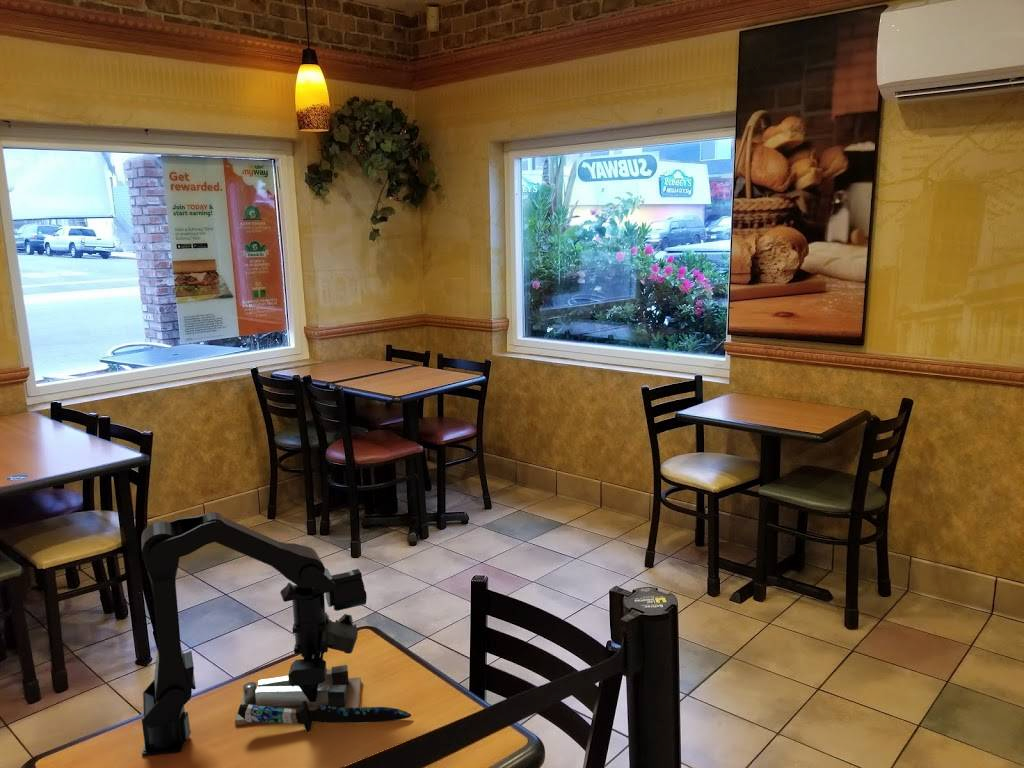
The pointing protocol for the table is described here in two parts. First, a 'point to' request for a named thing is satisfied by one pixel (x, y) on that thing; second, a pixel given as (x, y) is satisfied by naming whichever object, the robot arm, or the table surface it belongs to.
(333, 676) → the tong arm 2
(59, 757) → the table surface
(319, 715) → the knife
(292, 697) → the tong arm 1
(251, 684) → the tong hinge
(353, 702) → the flat board
